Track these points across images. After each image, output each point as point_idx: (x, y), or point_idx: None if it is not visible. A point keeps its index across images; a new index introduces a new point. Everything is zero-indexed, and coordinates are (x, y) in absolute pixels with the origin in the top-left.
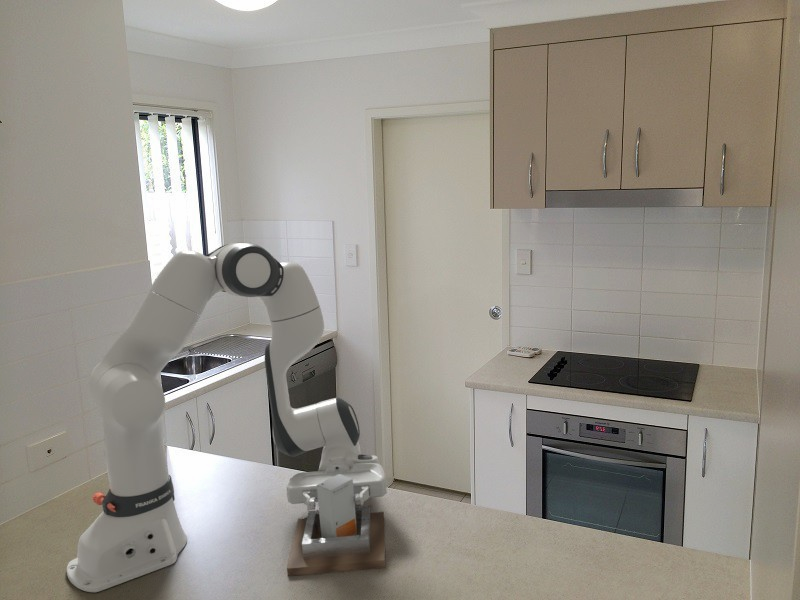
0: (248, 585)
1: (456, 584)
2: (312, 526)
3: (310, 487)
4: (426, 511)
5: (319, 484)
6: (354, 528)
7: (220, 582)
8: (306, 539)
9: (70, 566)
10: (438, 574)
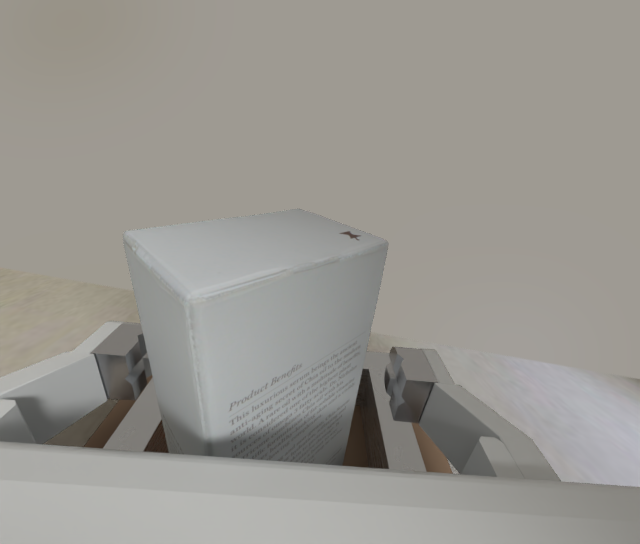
0: (479, 367)
1: (69, 295)
2: (387, 451)
3: (515, 478)
4: None
5: (370, 236)
6: None
7: (557, 389)
8: (383, 371)
9: None
10: (71, 319)
